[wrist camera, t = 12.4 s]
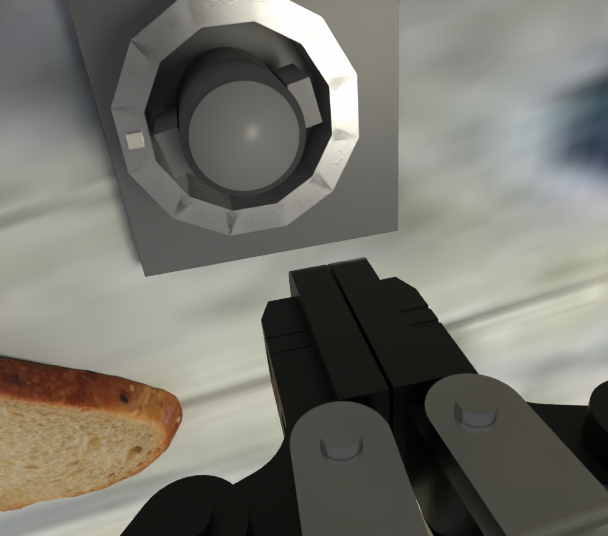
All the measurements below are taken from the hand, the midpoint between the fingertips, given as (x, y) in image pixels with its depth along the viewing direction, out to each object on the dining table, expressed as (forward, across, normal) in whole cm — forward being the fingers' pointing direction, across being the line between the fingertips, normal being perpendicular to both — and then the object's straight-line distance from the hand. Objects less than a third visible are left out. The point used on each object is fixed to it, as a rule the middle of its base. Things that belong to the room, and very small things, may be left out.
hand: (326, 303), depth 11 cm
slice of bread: (+19, +17, +16) cm, 30 cm away
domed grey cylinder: (+17, 0, 0) cm, 17 cm away
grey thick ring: (+17, 0, 0) cm, 17 cm away
